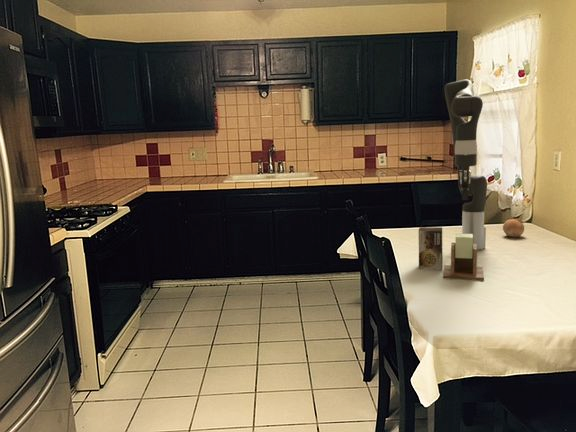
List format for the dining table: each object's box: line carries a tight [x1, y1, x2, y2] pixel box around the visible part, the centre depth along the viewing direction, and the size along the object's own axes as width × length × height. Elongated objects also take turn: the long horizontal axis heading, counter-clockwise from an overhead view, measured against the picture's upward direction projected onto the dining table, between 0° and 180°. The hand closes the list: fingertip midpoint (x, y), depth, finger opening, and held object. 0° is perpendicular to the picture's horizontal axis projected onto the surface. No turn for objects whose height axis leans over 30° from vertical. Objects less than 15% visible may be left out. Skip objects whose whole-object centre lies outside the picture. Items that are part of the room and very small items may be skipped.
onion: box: [502, 218, 525, 238], centre depth 233 cm, size 10×9×10 cm
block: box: [454, 233, 473, 259], centre depth 180 cm, size 6×6×8 cm
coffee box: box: [417, 226, 444, 271], centre depth 190 cm, size 9×6×16 cm
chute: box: [443, 242, 485, 281], centre depth 181 cm, size 14×14×11 cm
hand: (464, 199), depth 176 cm, fingers closed
